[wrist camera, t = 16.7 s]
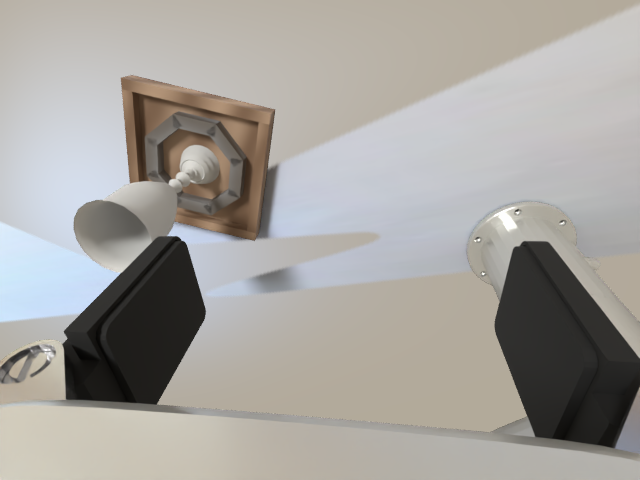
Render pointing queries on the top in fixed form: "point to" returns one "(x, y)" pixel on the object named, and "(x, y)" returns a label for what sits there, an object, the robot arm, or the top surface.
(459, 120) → the top surface
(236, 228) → the holder tray
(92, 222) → the chalice
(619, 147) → the top surface
